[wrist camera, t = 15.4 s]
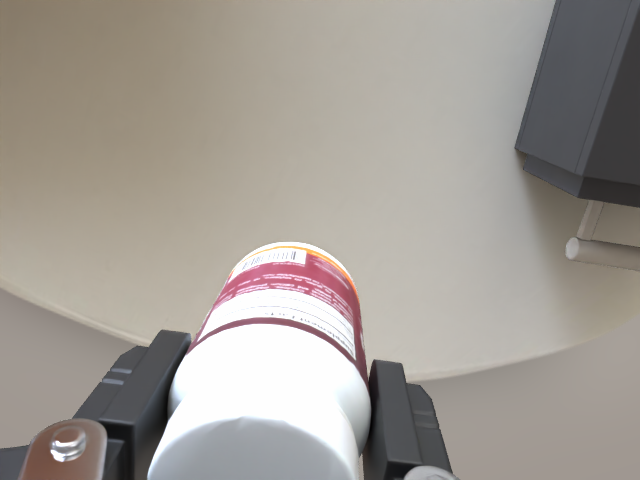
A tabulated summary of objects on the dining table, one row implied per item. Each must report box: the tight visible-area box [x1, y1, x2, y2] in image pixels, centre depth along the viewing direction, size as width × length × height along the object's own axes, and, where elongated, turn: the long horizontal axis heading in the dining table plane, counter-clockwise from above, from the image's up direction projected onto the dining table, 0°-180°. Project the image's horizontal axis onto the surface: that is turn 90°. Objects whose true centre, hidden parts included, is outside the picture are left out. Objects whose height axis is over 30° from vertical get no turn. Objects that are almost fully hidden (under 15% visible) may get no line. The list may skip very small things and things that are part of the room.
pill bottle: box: [147, 242, 371, 480], centre depth 13 cm, size 5×5×8 cm
